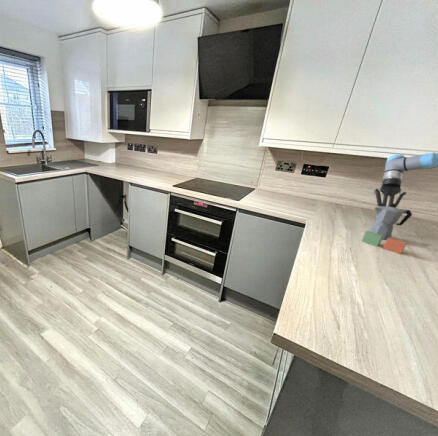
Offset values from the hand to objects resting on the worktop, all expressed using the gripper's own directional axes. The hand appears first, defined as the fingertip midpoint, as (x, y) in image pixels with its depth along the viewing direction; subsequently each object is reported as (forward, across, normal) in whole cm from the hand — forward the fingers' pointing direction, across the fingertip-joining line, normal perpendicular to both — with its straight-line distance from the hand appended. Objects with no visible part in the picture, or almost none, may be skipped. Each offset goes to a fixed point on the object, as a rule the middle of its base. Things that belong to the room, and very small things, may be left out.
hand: (384, 218), depth 128 cm
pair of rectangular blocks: (+23, +4, +18) cm, 29 cm away
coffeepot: (+13, +1, +4) cm, 14 cm away
